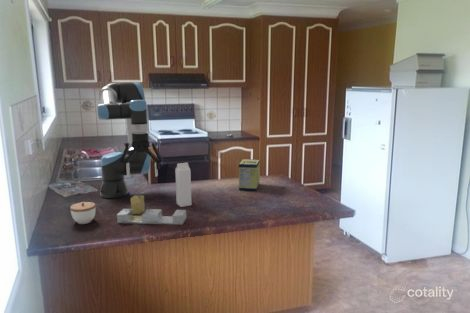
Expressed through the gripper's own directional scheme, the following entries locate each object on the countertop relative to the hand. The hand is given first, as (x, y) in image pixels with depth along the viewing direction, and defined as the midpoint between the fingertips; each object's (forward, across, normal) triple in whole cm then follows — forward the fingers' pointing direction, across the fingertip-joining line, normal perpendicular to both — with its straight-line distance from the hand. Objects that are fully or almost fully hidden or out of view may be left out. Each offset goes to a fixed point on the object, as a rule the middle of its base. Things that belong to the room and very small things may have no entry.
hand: (142, 176), depth 185 cm
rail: (+18, +7, -14) cm, 23 cm away
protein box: (+18, +54, +39) cm, 69 cm away
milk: (+18, +19, +8) cm, 27 cm away
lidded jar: (+18, -25, -14) cm, 33 cm away
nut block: (+18, -2, -3) cm, 18 cm away
